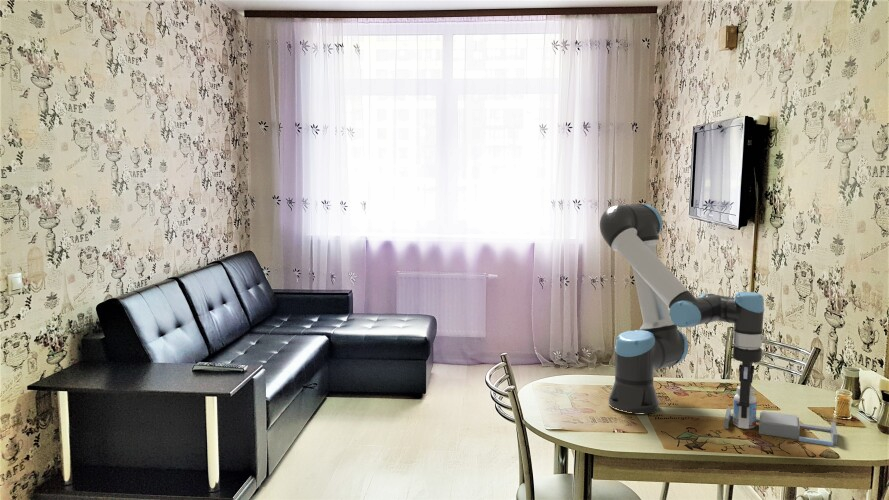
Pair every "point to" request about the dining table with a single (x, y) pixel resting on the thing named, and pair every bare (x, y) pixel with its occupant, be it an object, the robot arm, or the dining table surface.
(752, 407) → the pill bottle
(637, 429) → the dining table surface
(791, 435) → the grey block with rods
